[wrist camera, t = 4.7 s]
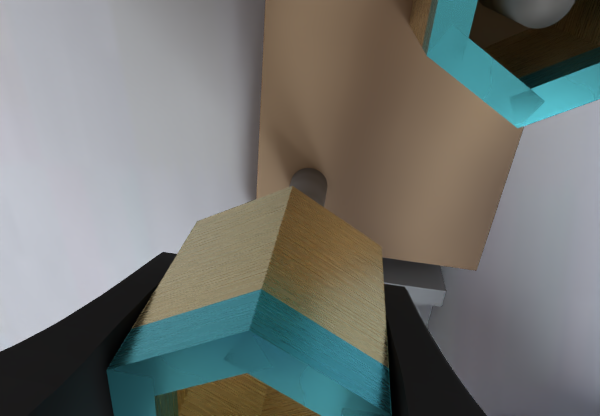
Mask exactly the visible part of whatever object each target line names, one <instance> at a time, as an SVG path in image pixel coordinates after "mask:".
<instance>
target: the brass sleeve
mask: <svg viewBox="0 0 600 416" xmlns="http://www.w3.org/2000/svg"><path fill="white" fill-rule="evenodd" d="M106 371H107V376H108V383H109V389H110V395H111V401H112V407H113V413H114V416H392V414H391V397H390V380H389V362H388V345H387V328H386V311H385V293H384V276H383V259H382V246H380V245H379V244H377V243H376V242H374V241H373V240H371V239H370V238H368V237H367V236H366V235H364V234H363V233H361V232H360V231H358V230H357V229H355V228H354V227H352V226H351V225H349V224H348V223H346V222H345V221H344V220H342V219H341V218H339V217H338V216H336V215H335V214H333V213H332V212H330V211H329V210H327V209H326V208H324V207H323V206H322V205H320V204H319V203H317V202H316V201H314V200H313V199H311V198H310V197H308V196H307V195H305V194H304V193H302V192H301V191H300V190H298V189H297V188H295V187H294V186H291V187H288V188H285V189H283V190H280V191H277V192H275V193H272V194H269V195H267V196H264V197H261V198H258V199H256V200H253V201H250V202H248V203H245V204H242V205H240V206H237V207H234V208H232V209H229V210H226V211H224V212H221V213H218V214H216V215H213V216H210V217H208V218H205V219H202V220H200V221H197V223H196V224H195V226H194V228H193V229H192V231H191V232H190V234H189V236H188V237H187V239H186V241H185V242H184V244H183V246H182V247H181V249H180V250H179V252H178V254H177V255H176V257H175V259H174V260H173V262H172V264H171V265H170V267H169V268H168V270H167V272H166V273H165V275H164V277H163V278H162V280H161V282H160V283H159V285H158V286H157V288H156V290H155V291H154V293H153V295H152V296H151V298H150V300H149V301H148V303H147V305H146V306H145V308H144V309H143V311H142V313H141V314H140V316H139V318H138V319H137V321H136V323H135V324H134V326H133V327H132V329H131V331H130V332H129V334H128V336H127V337H126V339H125V341H124V342H123V344H122V345H121V347H120V349H119V350H118V352H117V354H116V355H115V357H114V359H113V360H112V362H111V363H110V365H109V367H108V368H107V370H106Z"/></svg>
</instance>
